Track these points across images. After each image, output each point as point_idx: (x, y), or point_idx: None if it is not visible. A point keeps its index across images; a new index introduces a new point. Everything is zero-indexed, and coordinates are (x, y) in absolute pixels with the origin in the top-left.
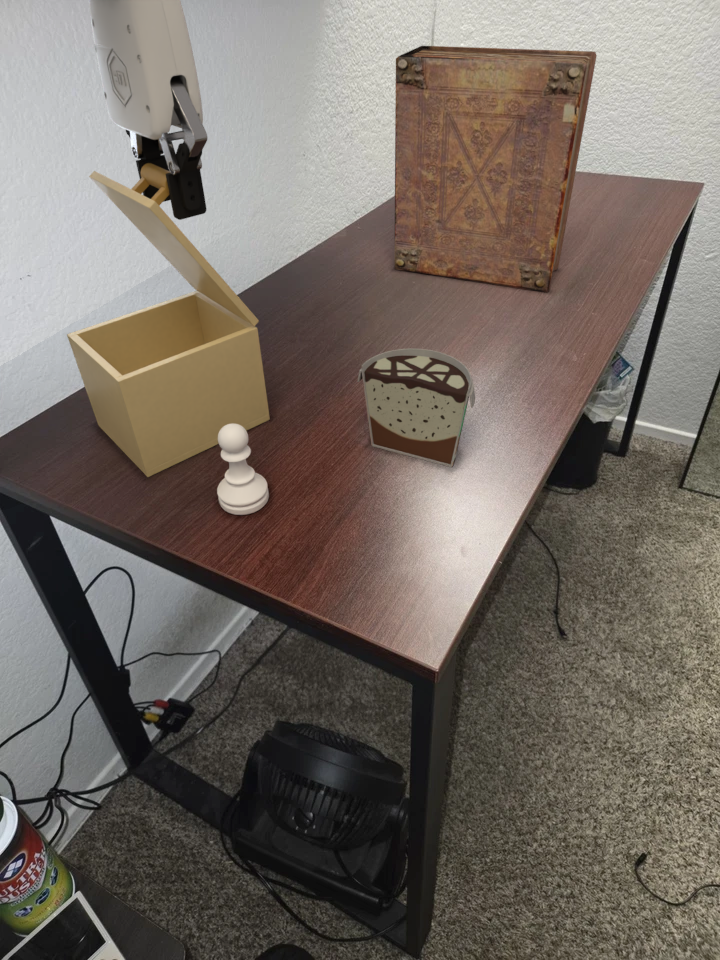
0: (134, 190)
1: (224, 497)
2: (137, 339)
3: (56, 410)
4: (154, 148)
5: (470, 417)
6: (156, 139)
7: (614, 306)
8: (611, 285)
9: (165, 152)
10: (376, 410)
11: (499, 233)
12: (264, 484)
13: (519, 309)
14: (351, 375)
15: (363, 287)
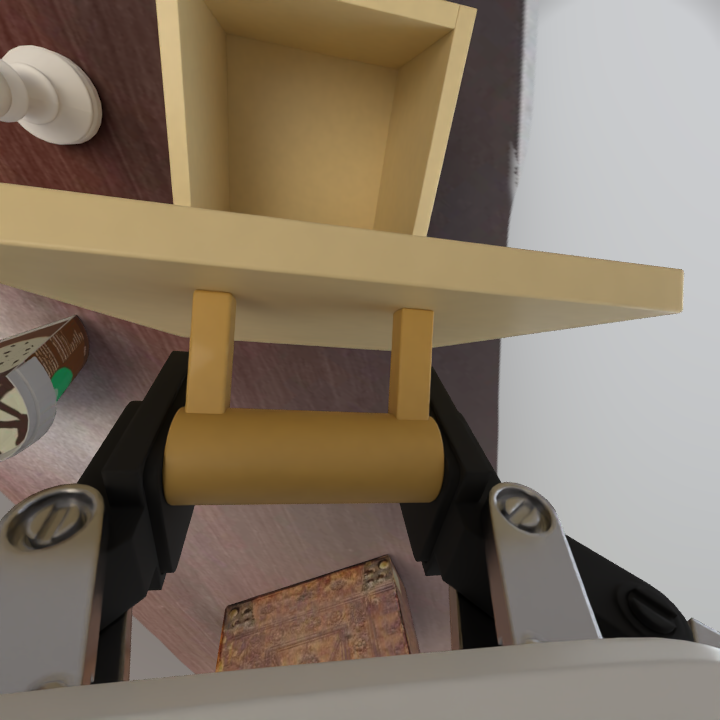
0: (402, 345)
1: (26, 49)
2: (408, 180)
3: (507, 34)
4: (463, 578)
5: (62, 427)
6: (479, 630)
7: (159, 622)
8: (194, 640)
9: (49, 603)
10: (35, 345)
11: (276, 653)
12: (25, 126)
13: (220, 576)
14: (238, 397)
15: (388, 516)
